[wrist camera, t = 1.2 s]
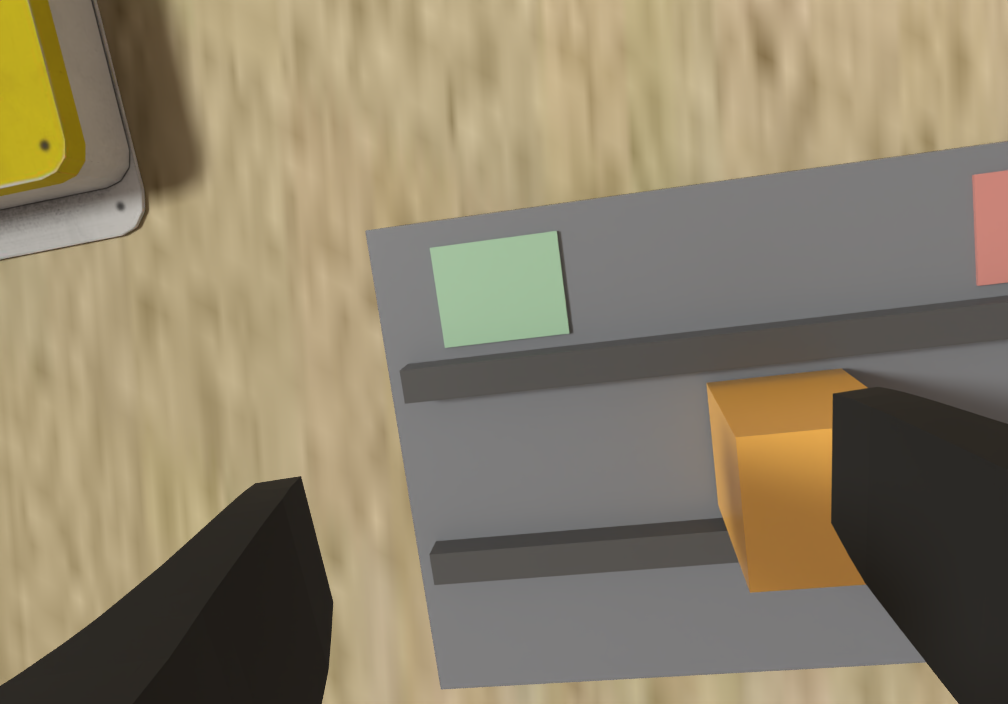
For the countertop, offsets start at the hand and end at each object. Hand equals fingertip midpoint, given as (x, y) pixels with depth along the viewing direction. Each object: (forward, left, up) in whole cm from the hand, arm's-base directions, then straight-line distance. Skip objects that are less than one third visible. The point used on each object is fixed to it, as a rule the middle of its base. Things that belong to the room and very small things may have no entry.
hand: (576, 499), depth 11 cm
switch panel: (-2, -4, -12) cm, 13 cm away
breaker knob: (-2, -4, -8) cm, 10 cm away
